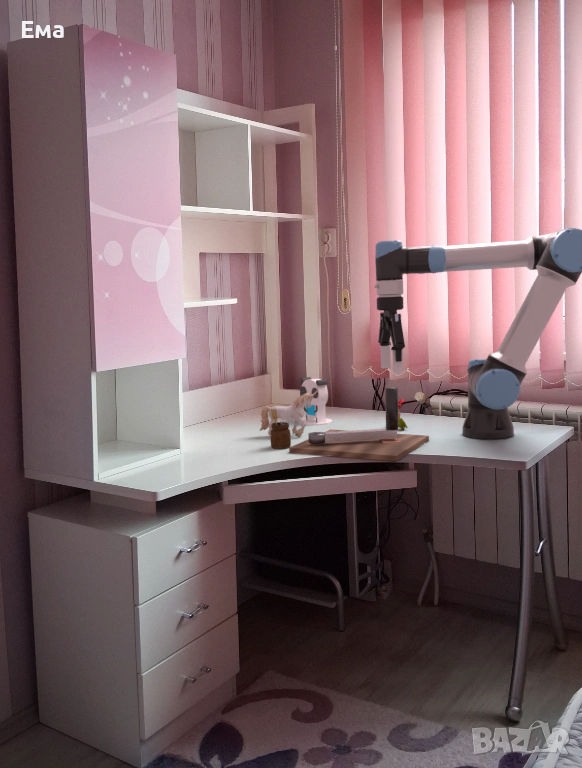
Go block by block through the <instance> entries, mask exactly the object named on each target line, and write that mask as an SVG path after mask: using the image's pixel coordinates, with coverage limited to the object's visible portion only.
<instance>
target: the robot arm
mask: <svg viewBox="0 0 582 768" xmlns="http://www.w3.org/2000/svg"><path fill="white" fill-rule="evenodd" d="M374 252H375V254H374V255H375V256H374V257H375V258H374V260H375V283H376V284H375V285H374V288H375V289H376V296H378V297H377V298H376V310H377V311H380V314H379V316H380V318H379V319H380V320H379V321H380V322H379V328H378V329H379V331H378V342H377V343H378V344H379V345H380V368H381V369H391V367H392V374H404V358H403V357H404V353H403V350H404V349H405V348H406V343H405V337H404V331H403V324H402V313H398V311H401V310H403V309H404V296H402V295H404V280H403V276H404V275H410V274H412V275H413V274H414V275H415V274H418V275H421V274H422V275H423V274H438V273H444V272H445V273H448V272H462V271H463V272H464V271H481V270H494V269H510V268H527V269H528V270H530V271H537V276H536V278H535V279H534V282H533V283H532V285H531V287H530V289H529V290H528V293H527V294H526V297H525V299H524V300H523V302H522V304H521V306H520V307H519V309H518V311H517V313H516V315H515V317H514V319H513V321H512V322H511V324H510V327H509V328H508V330H507V332H506V333H505V335H504V337H503V339H502V341H501V343H500V345H499V347H498V349H497V350H496V351H494V352H491V353H489V354H488V355H487V358H481V359H478V358H477V359H470V360H469V361H468V364H467V401H468V402H467V404H468V405H467V412H466V414H465V418H464V420H463V424H462V429H461V430H462V431H461V432H462V433H461V434H462V435H463V436H464V437H468V438H473V439H482V440H499V439H507V438H511V437H513V436H514V435H515V434H514V433H515V428H514V425H513V422H512V418H511V415H510V412H509V408H510V407H511V406H513V404H515V403H516V401H517V400H518V398H519V396H520V393H521V385H522V383H523V381H524V379H525V378H526V376H527V374H528V372H527V368H526V364H527V362H528V361H529V358H530V357H531V354H532V352H533V351H534V349H535V347H536V345H537V344H538V342H539V340H540V338H541V336H542V335H543V333H544V331H545V328H546V327H547V326H548V324H549V322H550V320H551V318H552V316H553V315H554V312H555V311H556V309H557V307H558V305H559V303H560V302H561V299H562V298H563V296H564V294H565V292H566V291H567V289H568V288H570V287H572V286H575V285H576V284H577V282H578V280H579V278H580V277H581V275H582V229H581V228H576V227H566V228H563V229H561V230H557V231H553V232H550V233H547V234H541V235H537V236H536V235H535V236H528V238H526V240H515V241H513V240H512V241H501V242H485V243H473V244H457V245H422V246H403V242H402V240H399V239H398V240H396V239H395V240H380V241H378V242H376V244H375V251H374ZM381 311H382V312H381ZM391 351H392V365H391Z"/></svg>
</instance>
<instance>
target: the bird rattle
mask: <svg viewBox="0 0 582 768" xmlns="http://www.w3.org/2000/svg"><path fill="white" fill-rule="evenodd" d="M405 402H406V399H404V398H400V399H399V400H398V428H400V429H401V430H404V429H408V426H407V423H406V421H405V420H404V419H403V418H402V417H401V413H400V410H401V409H402V408H403V407H402V404H403V403H405Z"/></svg>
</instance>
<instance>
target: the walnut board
mask: <svg viewBox="0 0 582 768" xmlns="http://www.w3.org/2000/svg"><path fill="white" fill-rule="evenodd" d="M335 431H348V430H346V429H345V430H344V429H329V430H326V431H325V432H335ZM427 441H428V442H430V436H429V435H422V434H409V433H408V434H407V433H397V438H396V439H380V440H363V441H347V442H331V443H323V444H310V443H309V439H305V440H303V441H301V442H299V443H297V444H294V445H291V446H290V447H289V448H288V453H289V454H298V455H299V454H300V455H314V456H323V457H337V458H338V457H339V458H347V459H348V458H350V459H365V460H377V461H389V462H398V461H399V460H401V459H402V458H404V457H405V456H407V455H409V454H410V453H412V452H414V451H415V450H417V449H418V448H420V447H422V446H424V443H425V444H426V443H428V442H427Z"/></svg>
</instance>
